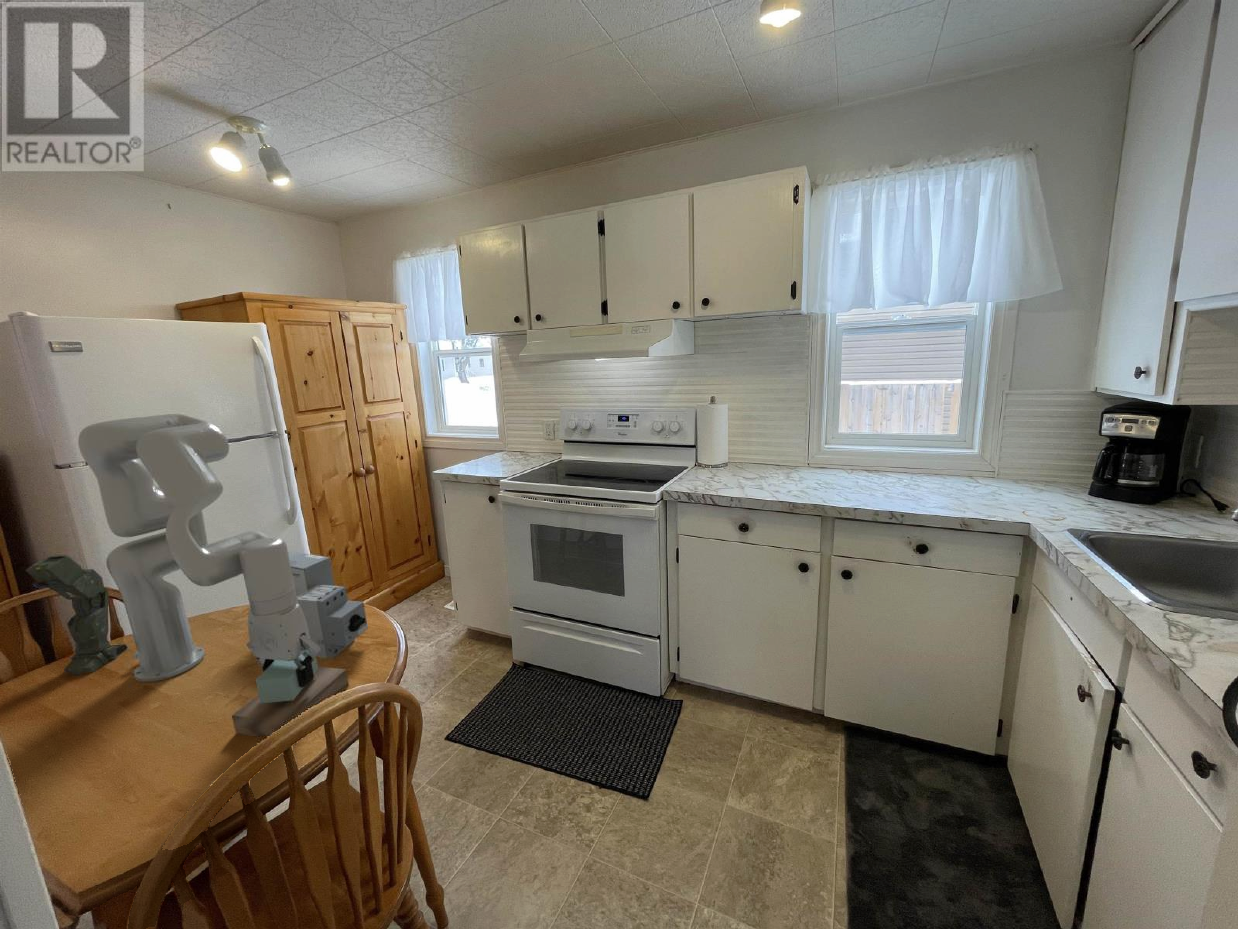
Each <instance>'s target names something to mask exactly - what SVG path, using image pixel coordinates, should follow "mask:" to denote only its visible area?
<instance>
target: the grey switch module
mask: <svg viewBox="0 0 1238 929" xmlns="http://www.w3.org/2000/svg"><path fill="white" fill-rule="evenodd" d="M288 555H289V560H290V565H291V571H292V576H293V581H294V586H295V591H296V596H297V597H298V596H300V595H301V594H303V593H307V591H308V590H310V589H311V588H313V587H315V586H316V585H319V586H321V585H330V586H336V585H335V580H334V575H333V569H332V563H331V557H327V556H325V555H324V556H323V555H318V554H317V555H316V554H310V553H303V552H297V551H288Z"/></svg>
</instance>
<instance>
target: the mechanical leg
mask: <svg viewBox="0 0 1238 929" xmlns="http://www.w3.org/2000/svg"><path fill="white" fill-rule="evenodd" d="M25 572H26V573H28V574H29V575H30V576H31V577H32V578H33V579H34V580H36V581H37V582H34V583H33V584H32V586H33V587H34V588H46V589H49V590H52V591H54V592H55V593H57V594H58V595H60V596H62V597H63V598H64V599H66V600H69V601H70V600H71V606H72V609H73V610H74V613H75V614H74V615H73V616H71V617H70V619H69V620H68V622H67V623H66V625H67V628H68V631H69V634H70V637H72V640H73V642H74V643H75V648H74V655H72V657H70V660H71V661H70V662H69V663H68V664H67V665H66V666H65V668H64V669H63V671H64V672H65V675H67V676H70V675H73V676H74V675H84V674H85V675H86V674H92V673H93V672H96V671H97V670H98V669H99V668H101V667H102V666H104V665H106V664H108V663H109V662H110V661H112V660H115V659H116V658H118V656H120V654H123V652H125V651H126V650H127V649H128V648H129V647H128V645H127V644H125V643H124V644H114V645H113V644H110V641H109V640H108V635H109V632H110V631H109V601H110V600H109V598H110V596H109V590H108V589H106V588H105V585H104V580H103V577H102V576H101V575H100V574H99V573H98V572H97V571H95V569H94V568H89V569H83V568H82V566H81V565H80V564H79V562H76V560H74V559H73V558H72V557H71V556H70V555H69V554H59V555H58V554H57V555H55V554H54V555H48V556H46V557H43V558H42V559H40V560H39V561H37V562H35V563H34V564H32V565H31V566H29V567H28V568H26V569H25Z"/></svg>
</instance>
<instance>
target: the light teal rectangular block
mask: <svg viewBox="0 0 1238 929" xmlns="http://www.w3.org/2000/svg"><path fill="white" fill-rule="evenodd" d="M300 651H301V650H300ZM299 657H300V659H301V660H302V661H303V660H304V659H305V657H304V656H303V655H302V654H301V655H300V656H299ZM317 660H318V659H317V657H316V658H315V659H314V661H313V662H312V668H313V674H314V673H315V672H316V671H317V670H318V667H319V666H318V661H317ZM297 669H298V667H297V665H296V664H295V662H294V661H293V660H292V661H282V660H275V661H274V662H273V663H272V664H271V665H270V666H269V667H268V668H267V669H266V670H265V671H264V672H263V671H262V673H261V674H260V675H259V676H258V677H257V678H256V680H255V684H256V688H257V692H258V693H257V694H258V695H259V698H260V702H261V703H269V702H280V701H291V700H294V699H295V698H296V696H297V695H298V694H299V692H300V691H301V690H302V689H303V687H300V686H299V682H298V677H297V672H296V670H297Z"/></svg>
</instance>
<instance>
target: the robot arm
mask: <svg viewBox="0 0 1238 929" xmlns="http://www.w3.org/2000/svg"><path fill="white" fill-rule="evenodd" d="M77 441H78V442H77V444H78V449H79V451H80V455H81V456H82V458H83V459H84V461H85V463H86V464H87V465H88V467H89V468H90V469H91V471H92V473H93V474H94V476H95V477H96V481H97V483H98V488H99V493H100V498H101V501H102V506H103V510H104V514H105V518H106V519H105V520H106V522H107V524H108V527H109V529H110V531H111V533H113V534H114V535H115V536H117V537H119V538H133V537H137V536H141V535H146V534H150V533H153V532H157V531H161V530H164V529H165V531H163V532H160V533H156V534H152V535H149V536H145V537H141V538H139V539H138V538H137V539H134V540H131V541H128V542H126V543H125V542H124V543H123V544H120V545H119V546H117V547H115V548H114V549H113V550H111V551H110V552H109V553H108V554H107V557H106V559H105V560H106V561H105V562H106V568H107V570H108V572H109V574H110V576H111V578H112V579H113V581H114V583H115V585H116V586H117V587H116V588H117V590H118V591H119V593H120V596H121V598H122V601H123V605H124V607H125V612H126V614H127V615H126V616H127V618H128V622H129V625H130V628H131V629H130V630H131V632H132V635H133V636H132V637H133V638H134V639H133V640H134V643H135V646H136V647H135V648H136V650H137V651H135V652H134V653H132V656H131V657H132V658H133V659H138V662H139V665H138V666H137V667H136V668H135V670H134V671H133V676H134V679H135V680H137V681H139V682H142V683H143V682H144V683H147V682H148V683H150V682H157V681H162V680H166V679H169V678H172V677H175V676H178V675H179V674H182V673H184V672H187V671H188V670H191V669H192V668H194V667H195V666H196V665H198V664H199V663H200V662H201V661H202V660H203V659H204V658H205V656H206V653H205V649H204V648H202V647H201V646H197V645H195V644H194V641H193V640H194V639H193V636H192V632H191V627H190V623H189V620H188V615H187V611H186V608H185V604H184V601H183V600H184V599H183V596H182V592H181V590H180V588H179V587H177V586H176V585H175V584H174V583H171V582H168V581H166V580H164V577H166V576H168V575H169V574H172V573H175V572H177V571H180V570H181V571H182V573H183V574H184V576H185V577H186V578H187V579H188V580H189V581H190V582H191V583H193V584H194V585H197V586H199V587H211V586H212V587H213V586H215V585H217V584H219V583H220V584H221V583H223V582H225V581H228V580H231V579H233V578H235V577H238V576H240V575H243V580H244V584H245V590H246V594H247V600H248V604H249V606H250V610H248V617H247V620H248V621H247V627H248V637H249V641H248V642H247V643H246V646H247V648H248V649H249V650H250V651H251V653H252V655H253V656H254V657H255V658H256V659H257V660H258V665H259V666H261V667H262V673H263V672H264V671H265V670H266V669H267V668H268V667H269V666H270V665H271V664H272V663H273V662H274V661H275V660H282V661H292V660H293V661H294V662H295V664H296V665H297V667H298V669H297V670H296V672H297V677H298V682H299V686H300V687H304V686H305V685H307V684H308V683H309V682H310V681H311V680H313V678H314V674H313V668H312V662H313V661H314V659H315V658H316V659H317V658H318V657H317V655H318V653H319V652H320V650H321V648H320V647H319V646H318V645H317V644H315V643H314V642H313V641H312V640H310V634H309V630H308V626H307V623H306V619H305V617H304V614H303V611H302V609H301V607H300V605H299V604H297V603H298V601H297V596H296V591H295V586H294V581H293V576H292V571H291V565H290V560H289V555H288V552H289V551H288V546H287V543H286V541H285V540H284V539H282V538H279V537H270V536H269V535H267V534H265V533H263V532H262V531H258V530H252V531H246V532H242V533H240V534H237V535H234V536H230V537H228V538H224V539H221V540H217V541H214V542H212V543H208V536H207V531H206V525H205V521H204V519H205V518H204V514H203V510H205V509H207V507H209V506H210V505H212V504H213V503H214V502H216V501H217V499H219V497H220V496H221V495H222V494H223V491H224V487H223V484H222V483H221V481H220V479H219V478H218V477H217V476H216V474H215V473H214V471H213V470H212V469H211V468H212V467H210V466H209V464H210V463H214V462H219V461H223V459H225V458H226V457H227V456H228V455H229V452H230V445H229V441H228V439H227V437H226V435H225V433H224V432H223V431H221V429H220V428H219V427H217V426H216V425H215V424H213V423H211V422H208V421H206V420H203V419H199V418H196V417H193V416H192V417H191V416H189V415H187V414H186V415H185V414H180V413H171V414H170V413H169V414H168V413H167V414H159V415H149V416H143V417H142V416H141V417H129V418H121V419H114V420H107V421H102V422H97V423H93V424H90V425H87V426H85V427H84V428H83V429H82V430H81V431H80V432H79V435H78V440H77ZM155 483H156V484H157V485H158V486H156V487H155ZM300 650H301V651H300ZM301 654H302V655H303V656H304V657H305V659H304V660H303V661H302V660H301V659H300V657H299V656H300V655H301Z"/></svg>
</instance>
